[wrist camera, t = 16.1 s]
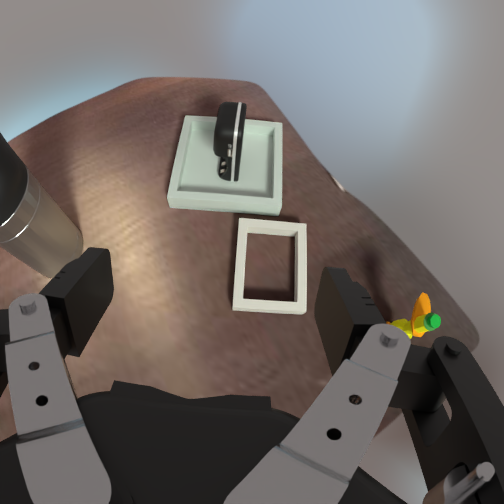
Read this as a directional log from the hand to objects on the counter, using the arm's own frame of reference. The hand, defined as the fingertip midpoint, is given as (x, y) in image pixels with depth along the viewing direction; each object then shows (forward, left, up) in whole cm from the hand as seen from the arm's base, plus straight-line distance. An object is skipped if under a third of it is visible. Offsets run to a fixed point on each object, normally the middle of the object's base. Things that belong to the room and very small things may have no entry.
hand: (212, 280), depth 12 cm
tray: (-1, +27, -31) cm, 41 cm away
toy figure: (+24, +3, -31) cm, 39 cm away
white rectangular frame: (+6, +11, -31) cm, 33 cm away
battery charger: (-1, +27, -30) cm, 40 cm away
